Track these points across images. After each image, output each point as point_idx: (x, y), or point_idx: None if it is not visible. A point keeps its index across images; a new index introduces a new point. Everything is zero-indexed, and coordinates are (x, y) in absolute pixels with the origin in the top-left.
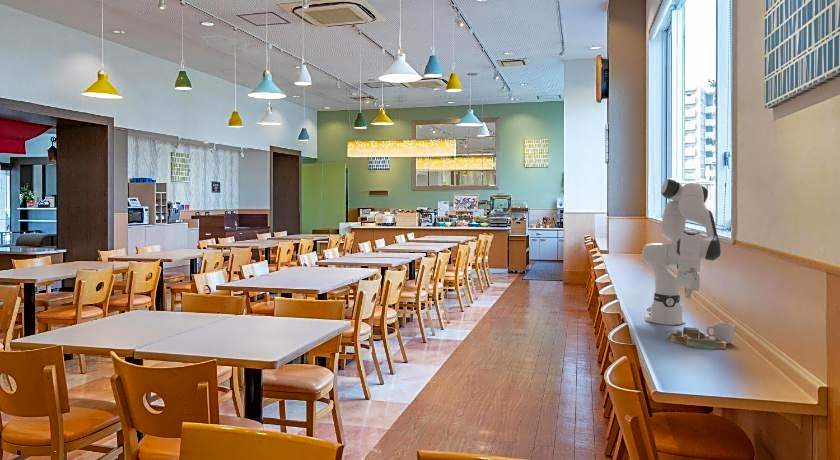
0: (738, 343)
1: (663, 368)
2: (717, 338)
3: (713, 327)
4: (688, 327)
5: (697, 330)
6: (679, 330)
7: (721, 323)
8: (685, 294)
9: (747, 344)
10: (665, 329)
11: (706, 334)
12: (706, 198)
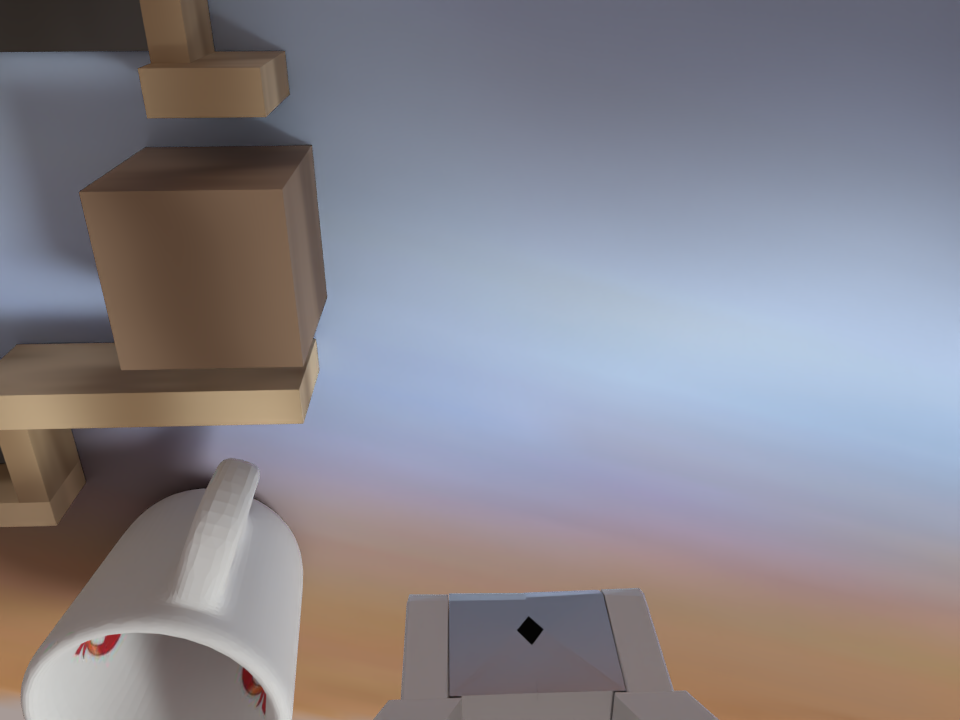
0: None
1: None
2: (150, 515)
3: (175, 573)
4: (281, 266)
5: (117, 346)
6: (236, 99)
7: (269, 706)
8: (558, 670)
9: None
10: (921, 46)
11: (93, 424)
12: None
